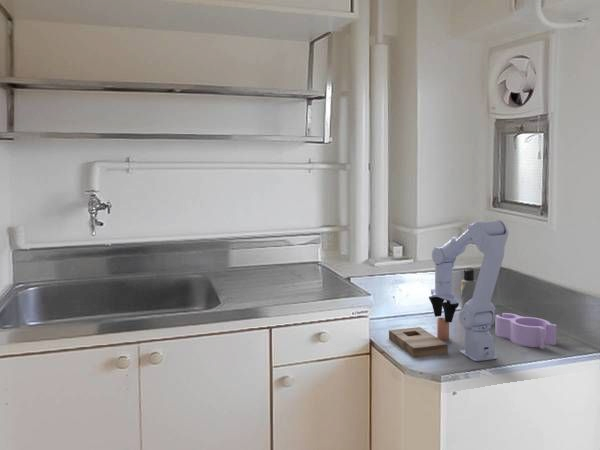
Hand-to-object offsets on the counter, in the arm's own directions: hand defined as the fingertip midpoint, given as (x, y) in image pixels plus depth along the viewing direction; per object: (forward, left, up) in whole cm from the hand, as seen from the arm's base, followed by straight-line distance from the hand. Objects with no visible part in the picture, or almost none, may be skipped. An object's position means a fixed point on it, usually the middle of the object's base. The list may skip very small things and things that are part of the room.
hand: (443, 319), depth 192 cm
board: (-4, +12, -7) cm, 14 cm away
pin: (0, 0, -7) cm, 7 cm away
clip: (-9, -26, -8) cm, 28 cm away
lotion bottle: (+20, -22, -7) cm, 31 cm away
